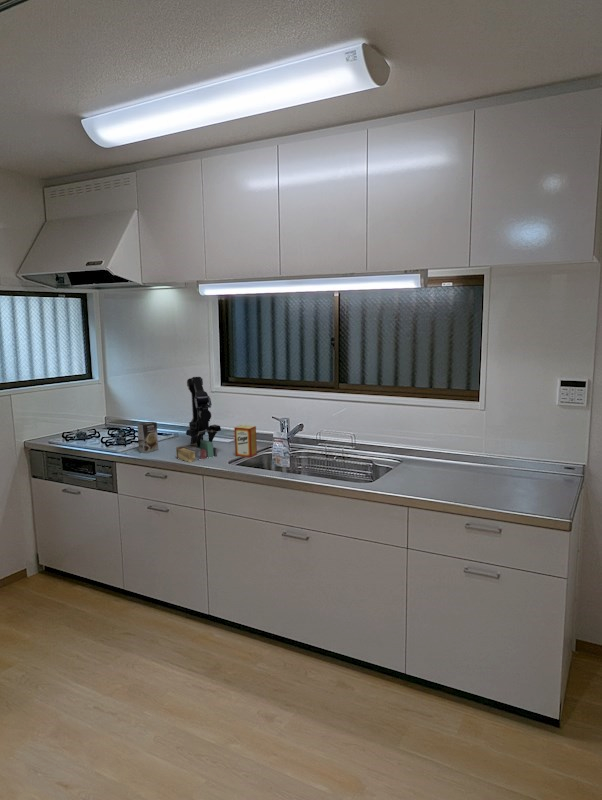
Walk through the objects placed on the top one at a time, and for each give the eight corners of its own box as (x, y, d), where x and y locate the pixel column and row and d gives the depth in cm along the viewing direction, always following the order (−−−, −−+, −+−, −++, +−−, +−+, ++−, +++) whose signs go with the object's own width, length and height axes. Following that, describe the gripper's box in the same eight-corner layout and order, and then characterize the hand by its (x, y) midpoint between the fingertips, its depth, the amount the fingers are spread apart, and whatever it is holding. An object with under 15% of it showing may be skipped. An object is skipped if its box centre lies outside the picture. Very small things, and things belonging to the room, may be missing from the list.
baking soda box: (256, 454, 303) (255, 425, 300) (251, 457, 297) (249, 428, 294) (241, 453, 306) (240, 424, 304) (235, 456, 300) (234, 426, 298)
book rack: (203, 452, 310) (203, 441, 309) (216, 456, 301) (216, 445, 300) (176, 458, 299) (176, 447, 298) (189, 462, 290) (188, 451, 289)
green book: (202, 453, 308) (201, 439, 306) (213, 457, 300) (212, 442, 298) (196, 454, 305) (195, 440, 304) (208, 458, 297) (207, 443, 296)
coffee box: (145, 453, 311) (143, 425, 309) (138, 451, 315) (136, 423, 313) (159, 449, 318) (157, 422, 316) (151, 448, 322) (149, 421, 320)
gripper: (209, 413, 311) (210, 440, 314) (179, 418, 299) (181, 446, 301) (220, 415, 303) (222, 443, 306) (191, 420, 291) (192, 450, 293)
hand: (204, 445), depth 302 cm, fingers open, 7 cm apart
